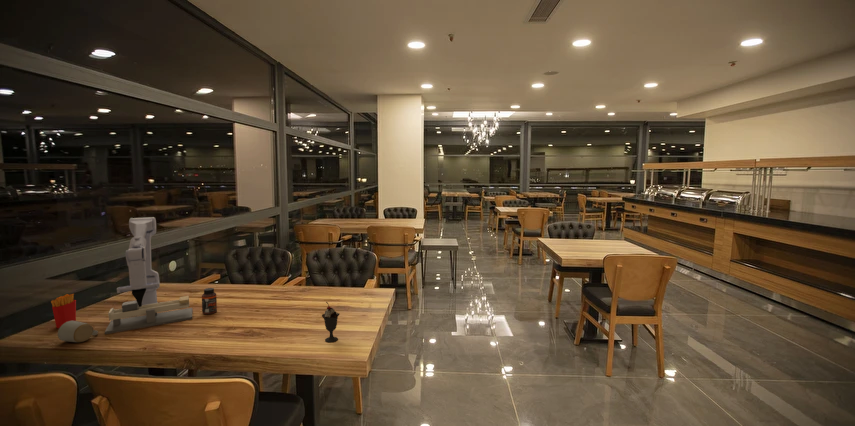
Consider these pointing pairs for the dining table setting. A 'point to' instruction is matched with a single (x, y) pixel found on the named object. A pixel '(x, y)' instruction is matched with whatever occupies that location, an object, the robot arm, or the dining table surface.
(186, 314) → the stand
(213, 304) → the supplement bottle
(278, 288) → the dining table surface
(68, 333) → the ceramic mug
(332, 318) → the sundae
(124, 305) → the rider
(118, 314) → the beam
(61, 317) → the french fries
